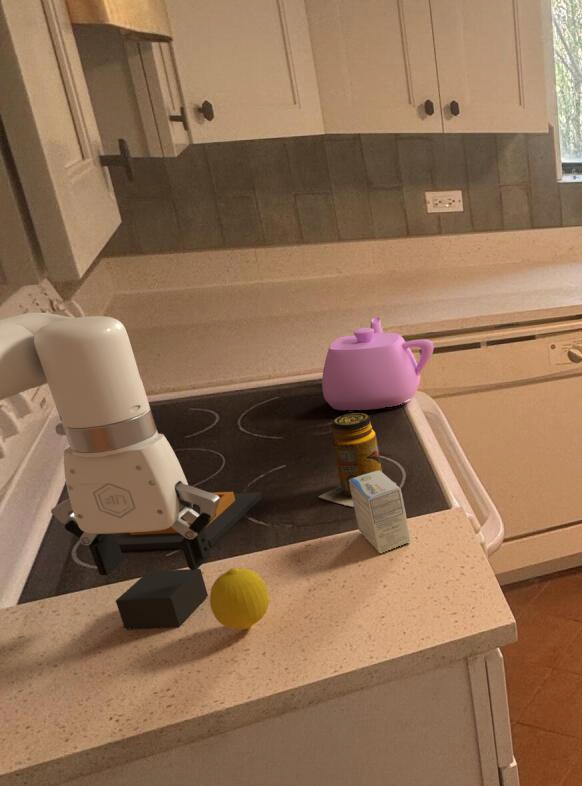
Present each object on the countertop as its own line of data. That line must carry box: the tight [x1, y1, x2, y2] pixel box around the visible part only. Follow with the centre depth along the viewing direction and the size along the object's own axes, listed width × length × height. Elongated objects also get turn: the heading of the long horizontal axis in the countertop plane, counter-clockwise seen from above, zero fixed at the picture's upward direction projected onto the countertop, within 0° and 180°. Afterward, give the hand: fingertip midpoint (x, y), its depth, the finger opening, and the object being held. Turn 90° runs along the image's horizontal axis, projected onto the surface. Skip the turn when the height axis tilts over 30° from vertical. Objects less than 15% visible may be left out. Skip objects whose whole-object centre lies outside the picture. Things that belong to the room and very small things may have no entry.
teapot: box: [321, 316, 435, 411], centre depth 159 cm, size 23×21×15 cm
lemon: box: [209, 567, 270, 630], centre depth 89 cm, size 6×6×8 cm
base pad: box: [114, 491, 262, 552], centre depth 112 cm, size 14×14×2 cm
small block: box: [115, 568, 209, 630], centre depth 92 cm, size 6×6×4 cm
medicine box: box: [349, 471, 412, 554], centre depth 107 cm, size 8×4×9 cm, turn 43°
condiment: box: [317, 412, 397, 508], centre depth 120 cm, size 7×8×12 cm
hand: (156, 566), depth 91 cm, fingers open, 9 cm apart
